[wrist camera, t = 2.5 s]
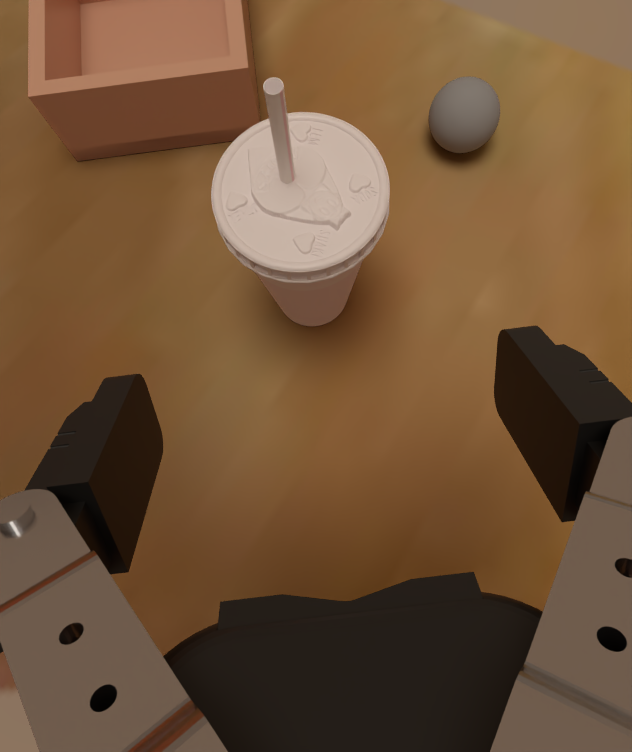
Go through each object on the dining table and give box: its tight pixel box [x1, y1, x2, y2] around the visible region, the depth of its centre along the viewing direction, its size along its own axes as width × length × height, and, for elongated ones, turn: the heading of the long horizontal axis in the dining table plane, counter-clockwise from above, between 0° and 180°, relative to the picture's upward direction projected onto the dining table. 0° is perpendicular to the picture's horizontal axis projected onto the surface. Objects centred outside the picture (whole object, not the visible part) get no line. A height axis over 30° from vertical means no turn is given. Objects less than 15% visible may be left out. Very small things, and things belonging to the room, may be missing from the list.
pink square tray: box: [28, 0, 261, 161], centre depth 29 cm, size 11×11×5 cm
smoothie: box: [211, 77, 390, 326], centre depth 21 cm, size 6×6×14 cm
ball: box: [429, 77, 500, 153], centre depth 28 cm, size 4×4×4 cm
